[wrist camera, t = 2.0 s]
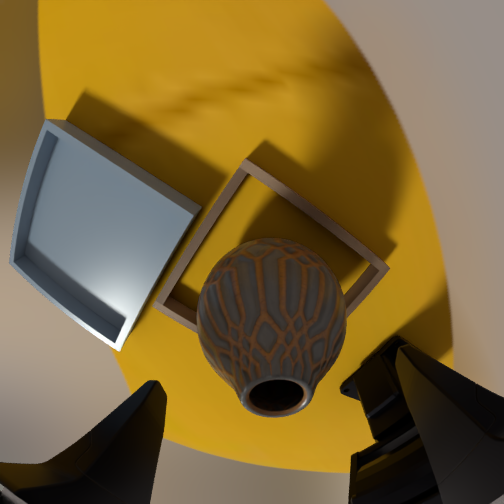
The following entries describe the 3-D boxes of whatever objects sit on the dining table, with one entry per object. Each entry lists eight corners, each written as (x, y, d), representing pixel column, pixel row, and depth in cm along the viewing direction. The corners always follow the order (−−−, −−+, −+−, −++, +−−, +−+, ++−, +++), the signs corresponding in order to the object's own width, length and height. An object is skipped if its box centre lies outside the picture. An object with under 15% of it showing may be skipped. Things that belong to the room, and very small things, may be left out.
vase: (224, 208, 15) (183, 283, 6) (343, 241, 15) (417, 333, 7) (201, 313, 17) (166, 427, 9) (303, 336, 18) (325, 450, 9)
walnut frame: (382, 260, 15) (390, 268, 14) (284, 366, 18) (285, 377, 17) (246, 157, 14) (245, 158, 13) (158, 296, 17) (152, 306, 16)
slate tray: (202, 207, 15) (194, 215, 13) (129, 334, 18) (119, 351, 16) (65, 119, 13) (45, 118, 11) (24, 253, 16) (9, 263, 14)
